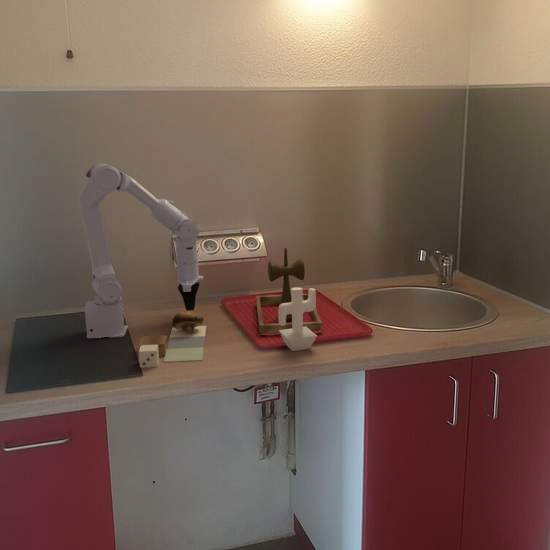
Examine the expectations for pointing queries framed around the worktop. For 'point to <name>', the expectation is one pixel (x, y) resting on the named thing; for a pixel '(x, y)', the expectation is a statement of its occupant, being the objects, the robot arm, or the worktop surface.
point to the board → (185, 345)
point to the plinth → (156, 343)
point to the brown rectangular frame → (275, 328)
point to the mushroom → (187, 321)
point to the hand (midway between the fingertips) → (190, 309)
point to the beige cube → (149, 356)
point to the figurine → (297, 320)
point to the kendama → (286, 277)
